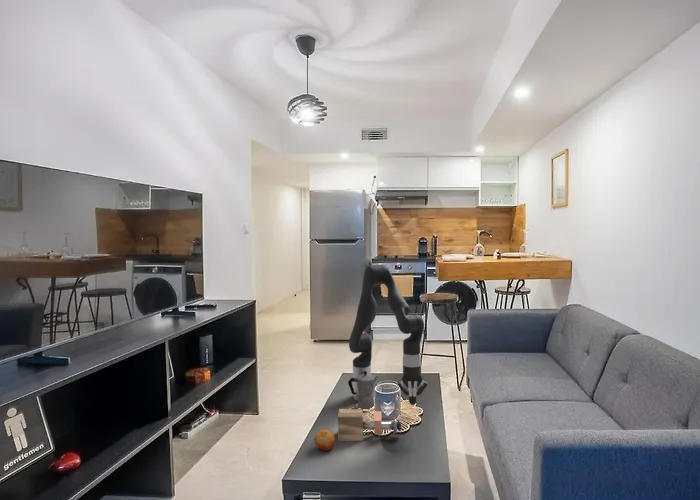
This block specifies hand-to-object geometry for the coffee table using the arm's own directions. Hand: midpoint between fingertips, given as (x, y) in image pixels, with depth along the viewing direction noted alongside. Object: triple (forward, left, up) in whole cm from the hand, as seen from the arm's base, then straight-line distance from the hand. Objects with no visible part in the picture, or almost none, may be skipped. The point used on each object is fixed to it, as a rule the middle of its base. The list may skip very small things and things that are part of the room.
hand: (412, 404), depth 181 cm
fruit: (+10, -36, -14) cm, 40 cm away
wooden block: (0, -26, -14) cm, 29 cm away
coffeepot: (-28, -21, -14) cm, 38 cm away
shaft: (0, -14, -12) cm, 19 cm away
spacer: (-1, -15, -11) cm, 18 cm away
